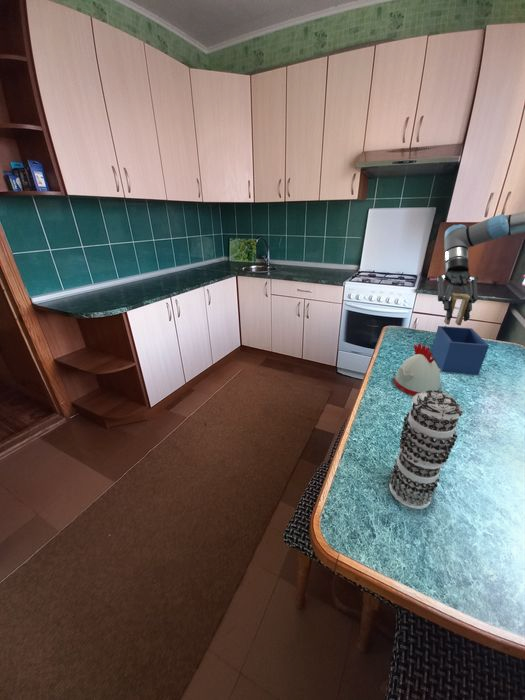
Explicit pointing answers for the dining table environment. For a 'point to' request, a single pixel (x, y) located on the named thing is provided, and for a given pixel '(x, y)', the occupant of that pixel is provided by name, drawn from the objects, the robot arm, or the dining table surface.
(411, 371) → the kitchen timer
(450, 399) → the decorative candle
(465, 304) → the wood clip
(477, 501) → the dining table surface
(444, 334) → the blue bin
